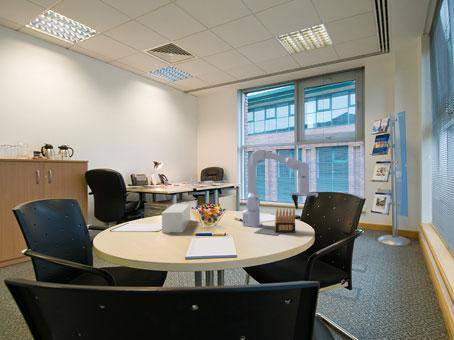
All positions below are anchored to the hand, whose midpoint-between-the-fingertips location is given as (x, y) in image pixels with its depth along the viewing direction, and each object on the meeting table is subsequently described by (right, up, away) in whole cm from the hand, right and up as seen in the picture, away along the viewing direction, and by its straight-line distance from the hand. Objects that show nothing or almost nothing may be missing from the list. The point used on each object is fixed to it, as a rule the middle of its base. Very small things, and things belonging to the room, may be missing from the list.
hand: (303, 209), depth 142 cm
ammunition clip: (-12, -11, -9) cm, 19 cm away
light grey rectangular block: (-71, -12, +10) cm, 73 cm away
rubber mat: (-19, -11, -5) cm, 22 cm away
